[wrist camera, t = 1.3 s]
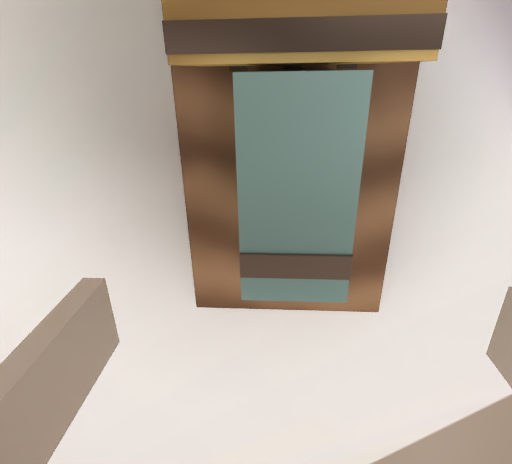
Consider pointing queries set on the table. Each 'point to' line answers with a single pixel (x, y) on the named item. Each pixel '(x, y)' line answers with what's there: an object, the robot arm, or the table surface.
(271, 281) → the stub
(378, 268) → the board
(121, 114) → the table surface
